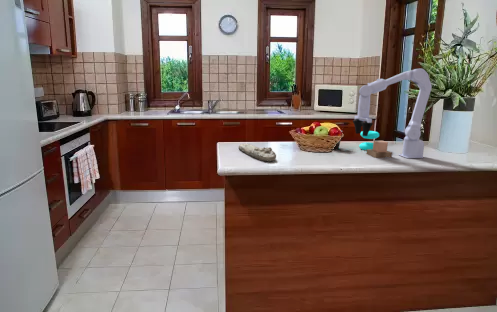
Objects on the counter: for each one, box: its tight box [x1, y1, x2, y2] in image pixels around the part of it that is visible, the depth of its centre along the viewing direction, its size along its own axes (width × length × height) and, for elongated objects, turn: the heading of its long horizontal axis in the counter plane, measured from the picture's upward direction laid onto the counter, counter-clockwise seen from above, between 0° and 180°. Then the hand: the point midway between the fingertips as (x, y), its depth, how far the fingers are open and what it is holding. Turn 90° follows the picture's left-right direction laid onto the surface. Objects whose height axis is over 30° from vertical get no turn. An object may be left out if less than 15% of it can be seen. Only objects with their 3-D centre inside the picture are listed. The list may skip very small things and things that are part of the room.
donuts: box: [358, 130, 380, 151], centre depth 198 cm, size 10×10×10 cm
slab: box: [365, 149, 393, 159], centre depth 183 cm, size 9×9×3 cm
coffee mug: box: [333, 130, 344, 150], centre depth 198 cm, size 12×9×10 cm
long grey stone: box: [238, 143, 277, 162], centre depth 180 cm, size 35×5×10 cm
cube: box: [372, 140, 389, 152], centre depth 182 cm, size 5×5×5 cm
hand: (361, 134), depth 186 cm, fingers open, 7 cm apart
